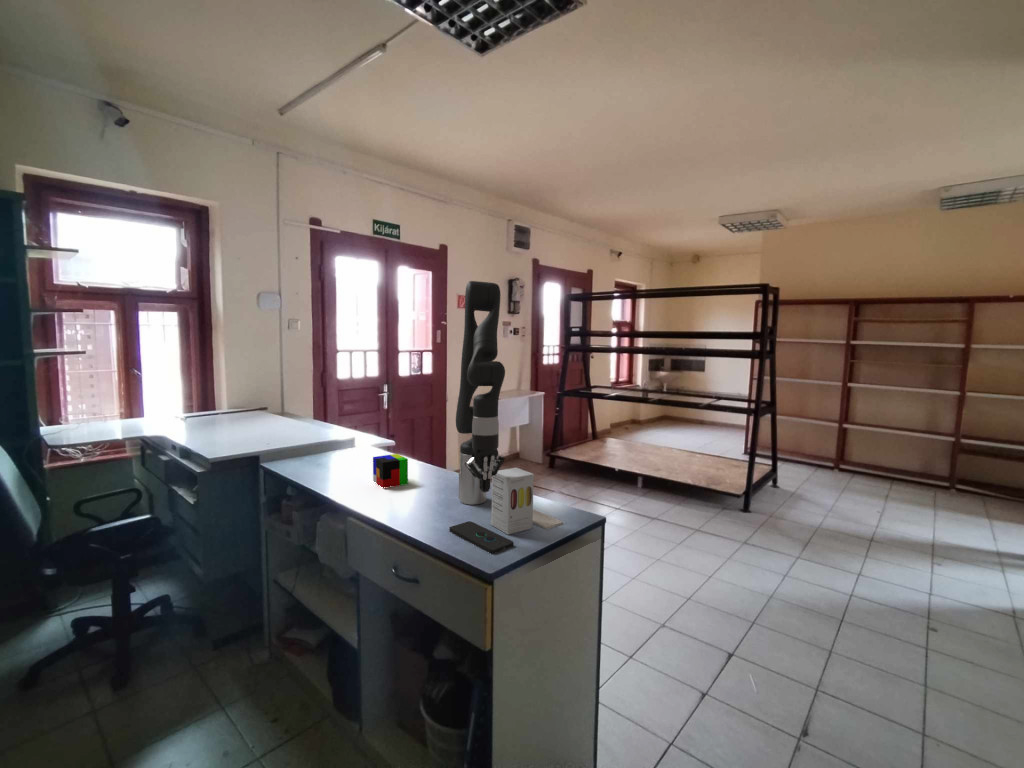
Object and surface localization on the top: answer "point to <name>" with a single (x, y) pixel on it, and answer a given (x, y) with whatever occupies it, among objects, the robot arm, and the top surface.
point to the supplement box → (512, 500)
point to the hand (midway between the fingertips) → (484, 491)
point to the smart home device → (481, 537)
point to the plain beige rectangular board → (545, 520)
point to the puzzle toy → (390, 470)
